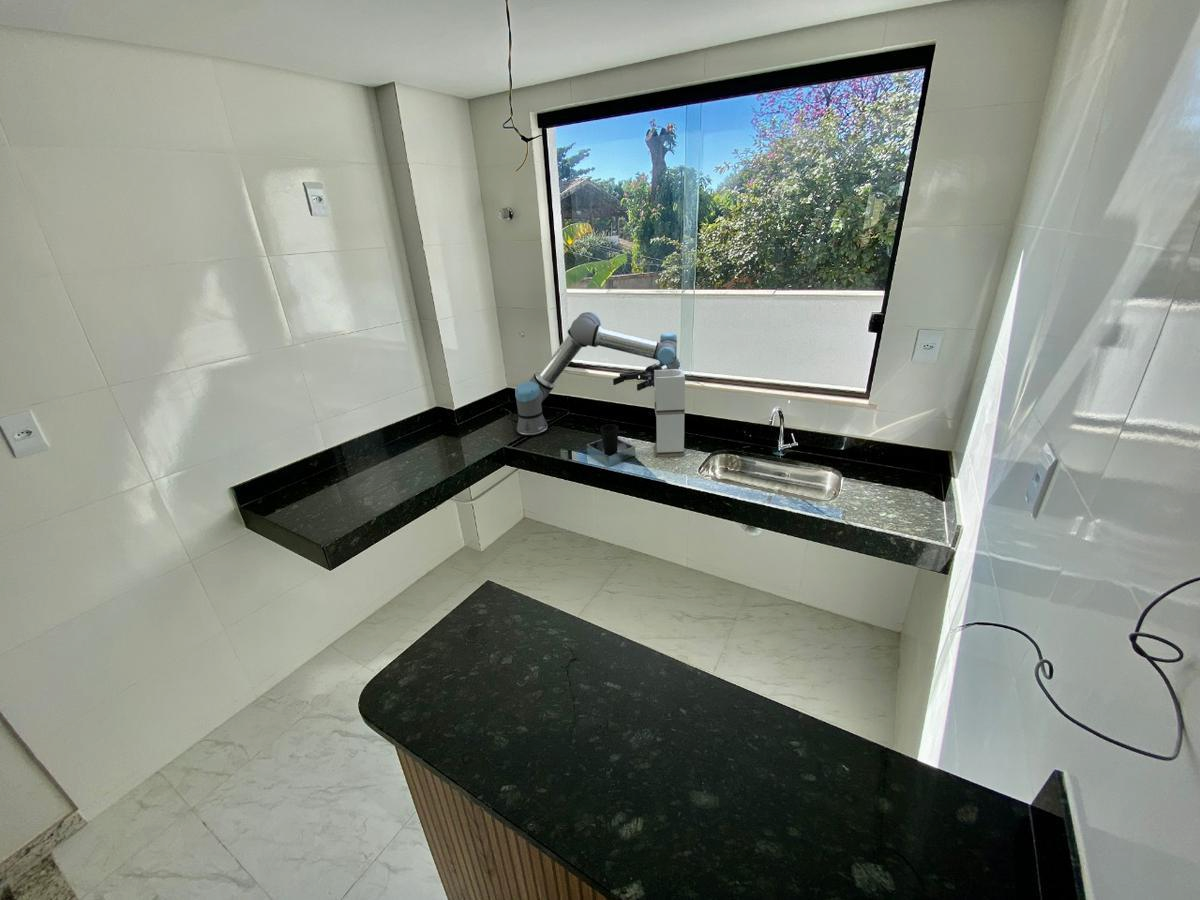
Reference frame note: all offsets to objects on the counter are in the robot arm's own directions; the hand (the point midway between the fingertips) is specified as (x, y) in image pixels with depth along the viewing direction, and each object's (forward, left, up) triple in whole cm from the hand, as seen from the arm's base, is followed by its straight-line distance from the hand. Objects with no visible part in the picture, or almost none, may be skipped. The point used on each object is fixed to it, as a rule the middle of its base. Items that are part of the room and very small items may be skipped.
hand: (625, 384), depth 208 cm
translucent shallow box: (+4, -13, -28) cm, 31 cm away
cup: (+4, -13, -27) cm, 30 cm away
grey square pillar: (+18, +8, -28) cm, 35 cm away
